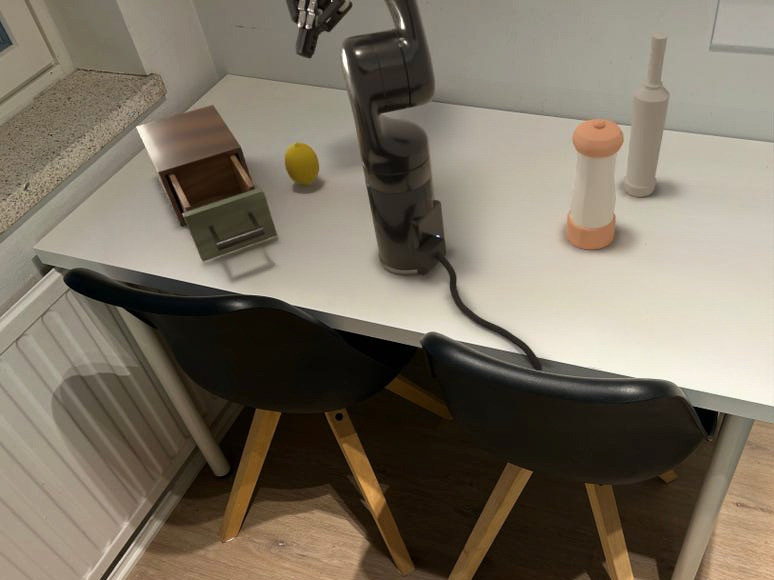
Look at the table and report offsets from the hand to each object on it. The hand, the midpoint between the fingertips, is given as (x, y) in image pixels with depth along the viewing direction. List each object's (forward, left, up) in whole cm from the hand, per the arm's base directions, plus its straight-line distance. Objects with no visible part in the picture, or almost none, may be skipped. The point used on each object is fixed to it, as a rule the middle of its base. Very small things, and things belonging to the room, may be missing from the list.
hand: (303, 56), depth 111 cm
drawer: (+2, +22, -20) cm, 30 cm away
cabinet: (+16, +14, -21) cm, 30 cm away
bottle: (-50, -19, -21) cm, 57 cm away
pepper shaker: (-48, -4, -21) cm, 52 cm away
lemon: (+1, +5, -21) cm, 21 cm away
